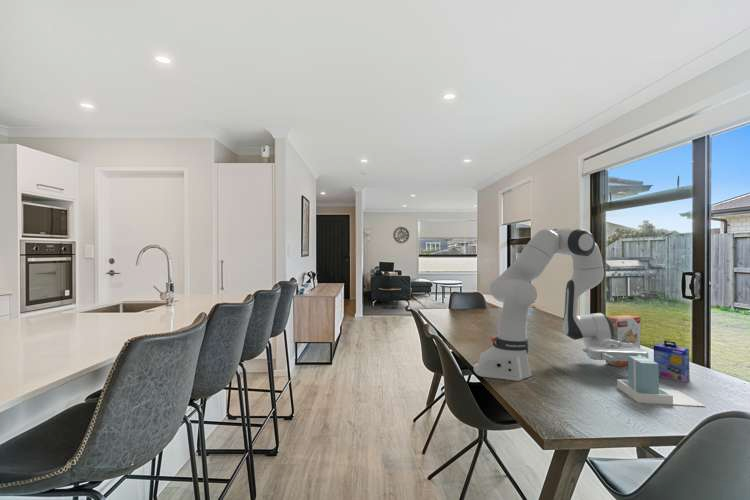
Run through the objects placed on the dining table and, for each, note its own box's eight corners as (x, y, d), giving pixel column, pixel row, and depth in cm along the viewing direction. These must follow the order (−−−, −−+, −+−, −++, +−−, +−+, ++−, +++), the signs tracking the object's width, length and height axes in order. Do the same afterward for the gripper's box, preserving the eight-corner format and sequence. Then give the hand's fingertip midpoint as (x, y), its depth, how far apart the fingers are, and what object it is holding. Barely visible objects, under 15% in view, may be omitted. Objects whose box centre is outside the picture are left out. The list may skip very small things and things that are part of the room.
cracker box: (618, 367, 146) (617, 318, 146) (605, 363, 152) (604, 316, 152) (642, 364, 150) (641, 316, 151) (628, 360, 156) (627, 314, 156)
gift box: (641, 399, 114) (641, 362, 114) (628, 389, 122) (628, 355, 122) (659, 400, 113) (658, 363, 113) (644, 390, 121) (644, 356, 121)
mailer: (638, 402, 112) (638, 393, 112) (617, 387, 125) (617, 379, 125) (705, 407, 108) (705, 397, 108) (677, 390, 121) (676, 382, 121)
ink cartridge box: (653, 375, 137) (652, 339, 137) (658, 372, 140) (657, 337, 140) (685, 382, 129) (684, 344, 129) (690, 379, 132) (689, 342, 132)
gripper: (580, 341, 143) (595, 350, 129) (635, 343, 139) (657, 352, 126) (581, 356, 143) (596, 367, 129) (636, 358, 139) (657, 369, 125)
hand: (626, 360), depth 127 cm, fingers open, 8 cm apart
